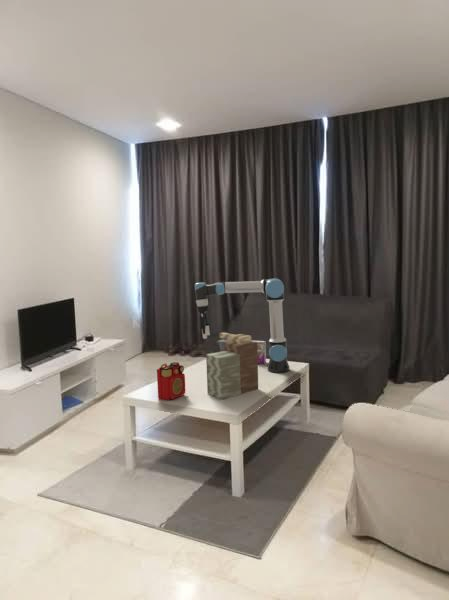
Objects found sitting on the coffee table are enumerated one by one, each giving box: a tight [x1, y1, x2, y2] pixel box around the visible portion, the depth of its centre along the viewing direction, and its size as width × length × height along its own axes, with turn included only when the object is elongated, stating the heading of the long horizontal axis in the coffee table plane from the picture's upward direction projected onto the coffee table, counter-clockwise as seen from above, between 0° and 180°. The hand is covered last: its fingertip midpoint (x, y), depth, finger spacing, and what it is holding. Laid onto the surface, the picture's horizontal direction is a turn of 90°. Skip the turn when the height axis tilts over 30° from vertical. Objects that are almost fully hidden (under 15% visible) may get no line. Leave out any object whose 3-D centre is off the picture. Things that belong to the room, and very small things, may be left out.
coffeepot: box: [216, 338, 230, 352], centre depth 352 cm, size 15×9×18 cm, turn 107°
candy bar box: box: [253, 340, 267, 365], centre depth 339 cm, size 11×5×16 cm, turn 71°
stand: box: [205, 340, 259, 400], centre depth 273 cm, size 14×28×29 cm, turn 128°
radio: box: [156, 361, 186, 401], centre depth 268 cm, size 16×10×20 cm, turn 148°
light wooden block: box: [219, 331, 252, 345], centre depth 281 cm, size 24×8×4 cm, turn 38°
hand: (206, 336), depth 307 cm, fingers open, 13 cm apart
